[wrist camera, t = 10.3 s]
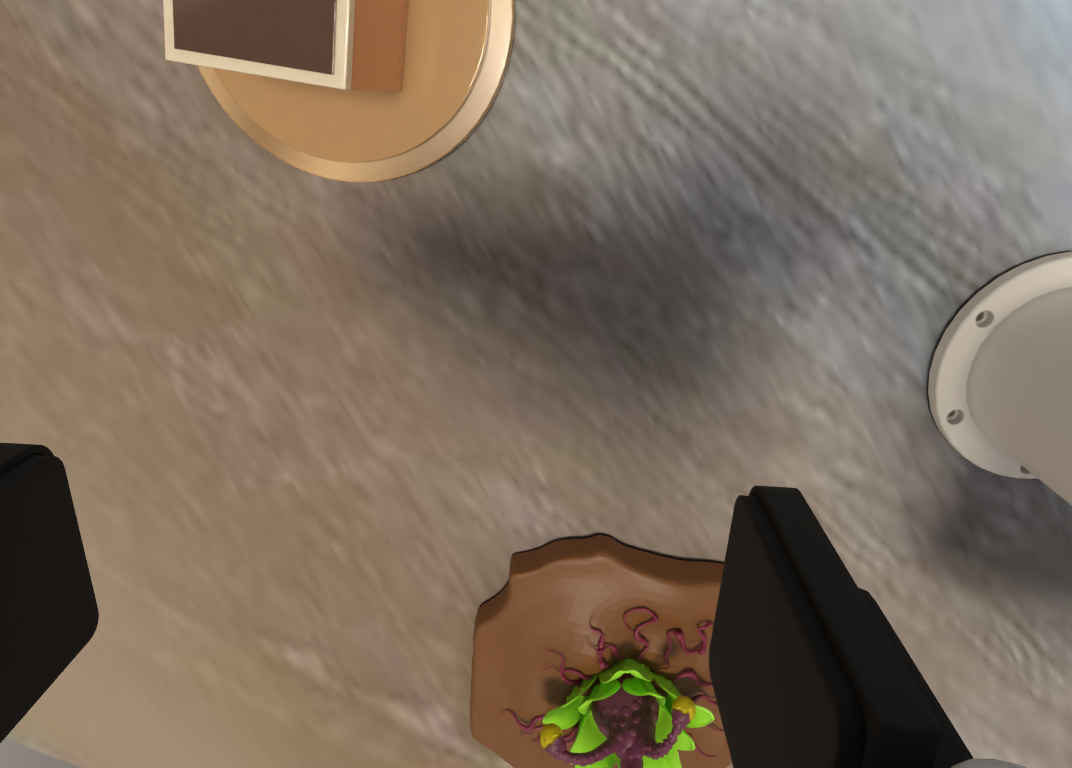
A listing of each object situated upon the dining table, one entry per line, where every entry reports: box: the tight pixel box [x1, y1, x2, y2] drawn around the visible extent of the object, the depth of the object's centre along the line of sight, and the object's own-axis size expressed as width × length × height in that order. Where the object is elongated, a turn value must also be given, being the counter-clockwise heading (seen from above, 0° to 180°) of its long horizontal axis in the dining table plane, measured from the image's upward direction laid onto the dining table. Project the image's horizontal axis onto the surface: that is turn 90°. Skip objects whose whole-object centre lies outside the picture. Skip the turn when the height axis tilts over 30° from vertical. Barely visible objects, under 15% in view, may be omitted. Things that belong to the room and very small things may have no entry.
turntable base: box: [198, 0, 515, 182], centre depth 32 cm, size 15×15×1 cm
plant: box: [470, 535, 732, 768], centre depth 42 cm, size 20×20×11 cm
